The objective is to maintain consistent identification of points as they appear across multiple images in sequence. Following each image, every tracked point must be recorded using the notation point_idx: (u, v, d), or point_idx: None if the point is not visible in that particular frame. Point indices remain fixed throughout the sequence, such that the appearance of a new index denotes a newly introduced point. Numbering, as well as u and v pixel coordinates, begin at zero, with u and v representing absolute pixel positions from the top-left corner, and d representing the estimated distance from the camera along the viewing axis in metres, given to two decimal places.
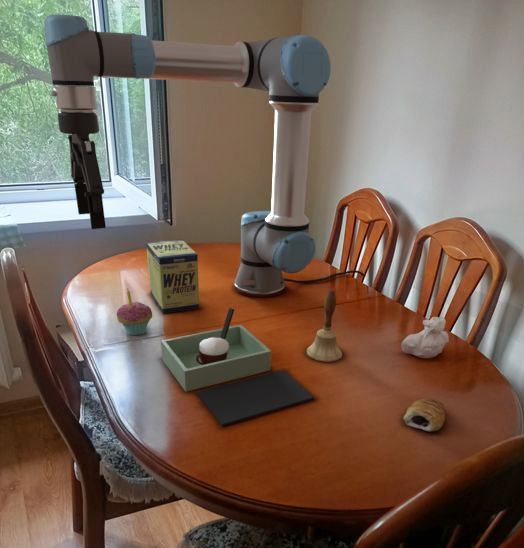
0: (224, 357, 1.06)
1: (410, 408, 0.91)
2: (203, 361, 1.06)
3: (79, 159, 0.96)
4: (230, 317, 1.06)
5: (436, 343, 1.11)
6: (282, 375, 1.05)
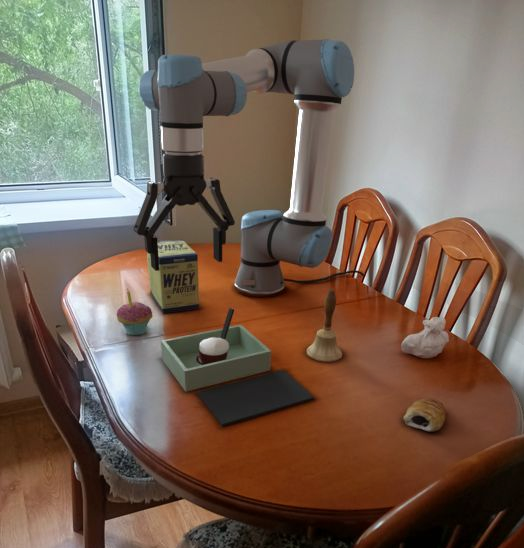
0: (224, 357, 1.06)
1: (410, 408, 0.91)
2: (203, 361, 1.06)
3: (164, 199, 0.94)
4: (230, 317, 1.06)
5: (436, 343, 1.11)
6: (282, 375, 1.05)
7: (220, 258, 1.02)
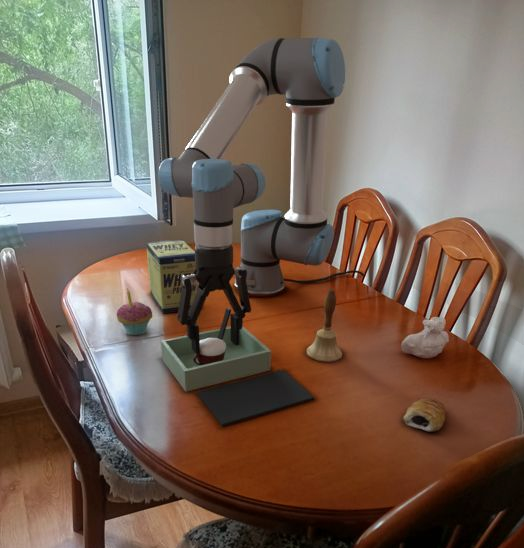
0: (221, 357, 1.06)
1: (410, 408, 0.91)
2: (200, 362, 1.06)
3: (197, 287, 1.00)
4: (227, 317, 1.06)
5: (436, 343, 1.11)
6: (282, 375, 1.05)
7: (237, 342, 1.07)
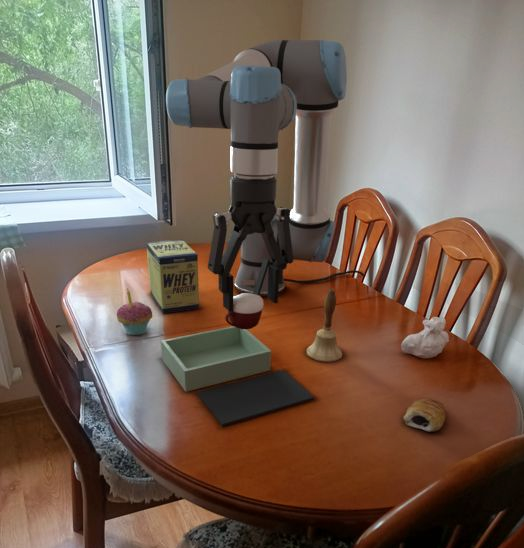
0: (258, 316, 0.89)
1: (410, 408, 0.91)
2: (233, 321, 0.89)
3: (232, 230, 0.84)
4: (265, 269, 0.90)
5: (436, 343, 1.11)
6: (282, 375, 1.05)
7: (276, 299, 0.91)
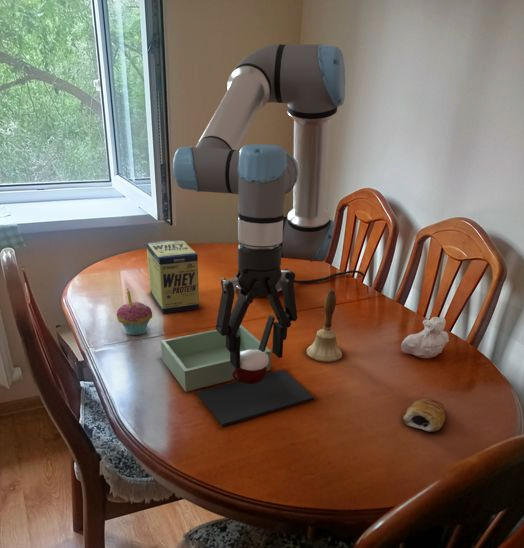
0: (264, 372, 0.93)
1: (410, 408, 0.91)
2: (240, 377, 0.93)
3: (239, 292, 0.87)
4: (270, 326, 0.93)
5: (436, 343, 1.11)
6: (282, 375, 1.05)
7: (280, 354, 0.95)
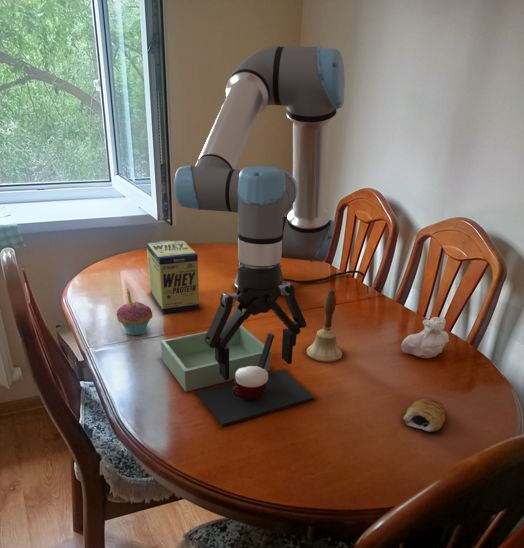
0: (263, 388, 0.95)
1: (410, 408, 0.91)
2: (240, 393, 0.95)
3: (236, 307, 0.89)
4: (270, 344, 0.95)
5: (436, 343, 1.11)
6: (282, 375, 1.05)
7: (290, 360, 0.97)
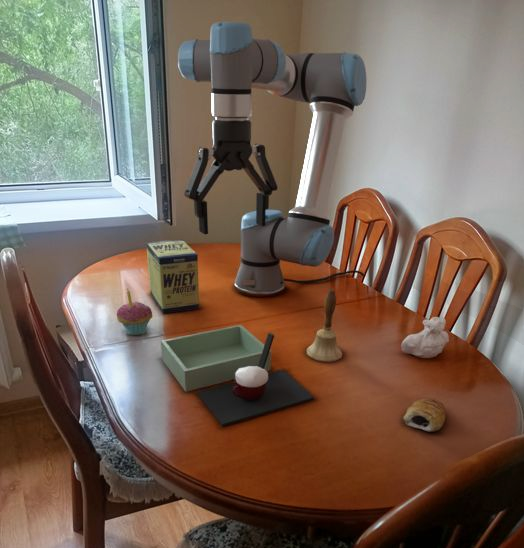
0: (263, 388, 0.95)
1: (410, 408, 0.91)
2: (240, 393, 0.95)
3: (212, 165, 0.98)
4: (270, 344, 0.95)
5: (436, 343, 1.11)
6: (282, 375, 1.05)
7: (263, 222, 1.06)
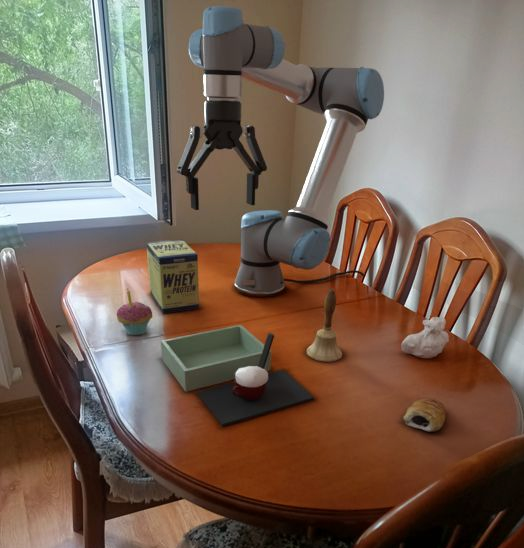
0: (263, 388, 0.95)
1: (410, 408, 0.91)
2: (240, 393, 0.95)
3: (204, 143, 1.03)
4: (270, 344, 0.95)
5: (436, 343, 1.11)
6: (282, 375, 1.05)
7: (253, 202, 1.11)
